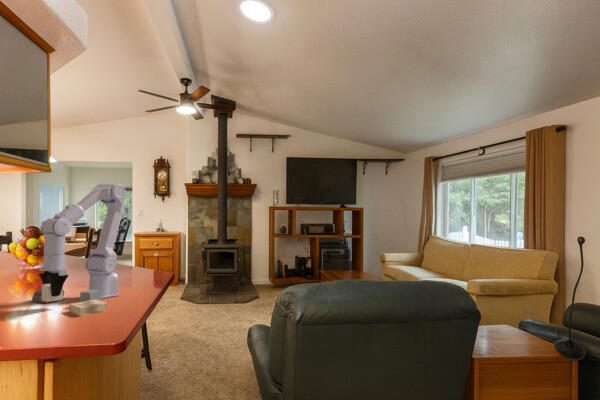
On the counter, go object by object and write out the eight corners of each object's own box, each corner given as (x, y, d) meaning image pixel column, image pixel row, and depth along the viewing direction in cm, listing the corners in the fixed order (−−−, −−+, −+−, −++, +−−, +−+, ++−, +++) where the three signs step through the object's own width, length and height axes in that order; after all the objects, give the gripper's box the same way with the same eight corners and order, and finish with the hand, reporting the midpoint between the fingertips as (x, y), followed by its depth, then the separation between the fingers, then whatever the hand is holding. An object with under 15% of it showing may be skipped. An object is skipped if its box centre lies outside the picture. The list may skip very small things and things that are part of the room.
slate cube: (91, 303, 124) (92, 289, 125) (100, 304, 123) (101, 290, 123) (79, 306, 120) (80, 291, 120) (89, 307, 119) (90, 293, 119)
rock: (65, 296, 133) (66, 286, 133) (55, 304, 123) (55, 292, 123) (38, 298, 131) (39, 287, 131) (25, 305, 120) (26, 293, 121)
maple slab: (94, 308, 120) (95, 298, 120) (106, 312, 115) (107, 302, 115) (69, 313, 113) (69, 303, 113) (80, 317, 109) (81, 307, 109)
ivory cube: (56, 297, 119) (57, 282, 119) (62, 299, 117) (63, 284, 117) (41, 299, 116) (41, 284, 116) (47, 302, 113) (47, 286, 113)
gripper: (31, 253, 117) (29, 293, 117) (49, 257, 109) (47, 300, 109) (55, 251, 123) (53, 290, 123) (74, 255, 115) (72, 296, 115)
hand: (52, 294), depth 116 cm, fingers closed on ivory cube, 4 cm apart
